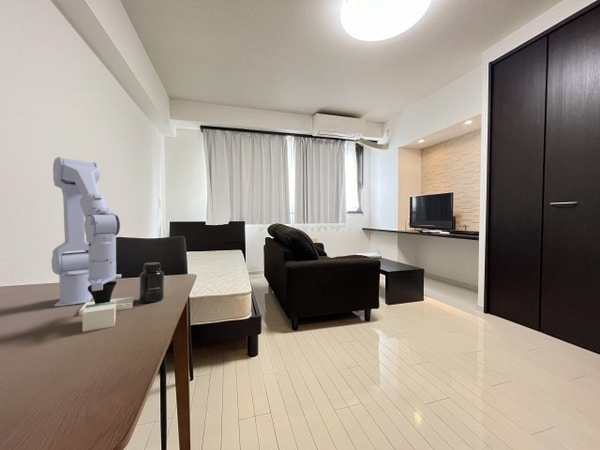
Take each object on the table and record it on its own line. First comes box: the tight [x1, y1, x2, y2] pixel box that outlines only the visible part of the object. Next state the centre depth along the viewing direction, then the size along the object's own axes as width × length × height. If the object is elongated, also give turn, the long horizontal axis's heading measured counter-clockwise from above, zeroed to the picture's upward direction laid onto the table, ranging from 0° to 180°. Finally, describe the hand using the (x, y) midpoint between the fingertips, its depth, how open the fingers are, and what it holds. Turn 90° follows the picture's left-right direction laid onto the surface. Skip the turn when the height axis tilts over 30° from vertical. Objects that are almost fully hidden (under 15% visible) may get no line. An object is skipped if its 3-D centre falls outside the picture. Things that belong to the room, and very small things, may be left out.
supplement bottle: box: [138, 261, 165, 304], centre depth 82 cm, size 7×7×12 cm
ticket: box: [78, 296, 135, 316], centre depth 75 cm, size 8×12×1 cm, turn 119°
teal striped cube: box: [81, 301, 117, 333], centre depth 63 cm, size 6×6×5 cm
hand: (103, 310), depth 67 cm, fingers closed
